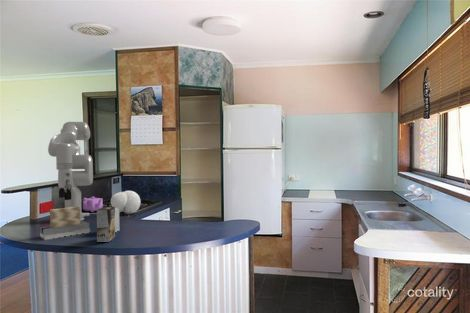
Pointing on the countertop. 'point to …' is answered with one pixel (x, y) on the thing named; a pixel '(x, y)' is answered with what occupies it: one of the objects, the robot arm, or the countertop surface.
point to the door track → (64, 230)
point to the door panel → (64, 217)
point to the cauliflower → (126, 202)
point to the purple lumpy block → (92, 204)
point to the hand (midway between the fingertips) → (65, 198)
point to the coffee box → (105, 224)
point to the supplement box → (117, 220)
